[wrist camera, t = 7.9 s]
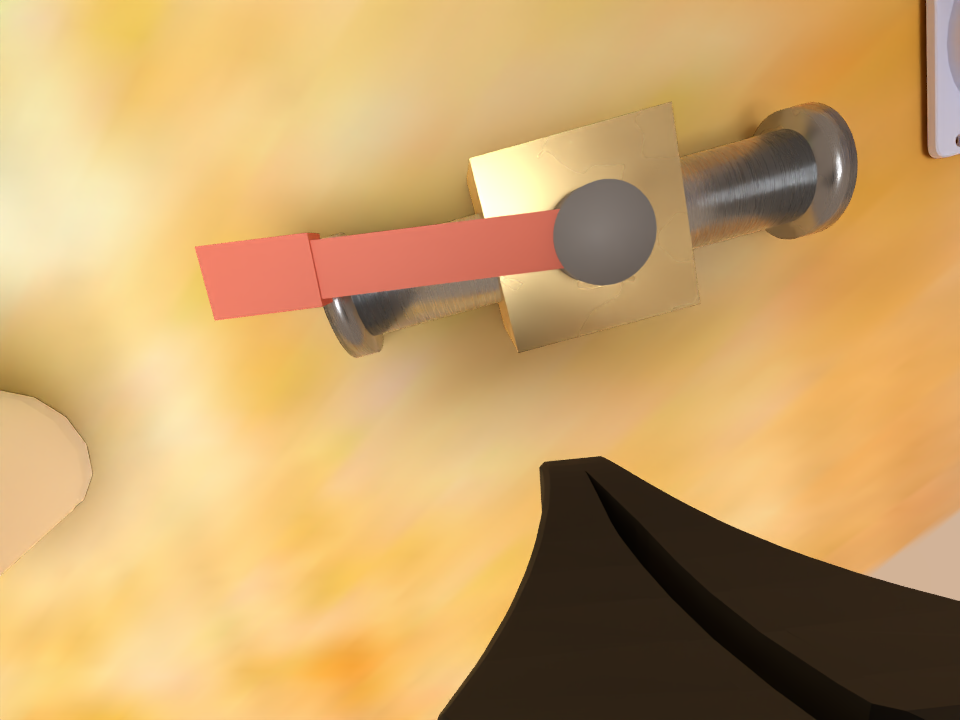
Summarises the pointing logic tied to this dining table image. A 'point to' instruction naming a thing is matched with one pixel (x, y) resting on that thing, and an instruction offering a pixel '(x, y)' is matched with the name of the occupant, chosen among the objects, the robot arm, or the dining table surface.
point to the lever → (435, 254)
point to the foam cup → (36, 473)
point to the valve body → (676, 203)
